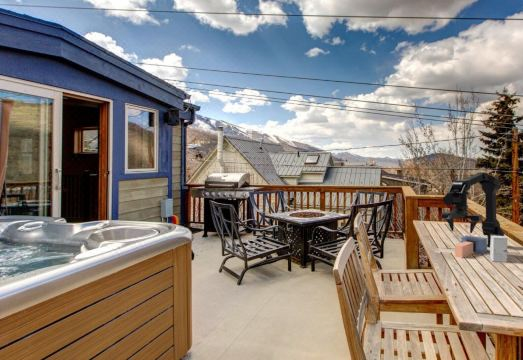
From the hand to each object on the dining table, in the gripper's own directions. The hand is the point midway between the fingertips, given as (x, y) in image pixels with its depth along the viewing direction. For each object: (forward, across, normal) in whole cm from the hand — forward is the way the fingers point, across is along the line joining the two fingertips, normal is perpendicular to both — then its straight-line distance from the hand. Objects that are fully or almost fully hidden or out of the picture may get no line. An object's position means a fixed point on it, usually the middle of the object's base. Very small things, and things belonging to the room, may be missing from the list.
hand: (461, 232), depth 175 cm
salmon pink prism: (+11, +3, -4) cm, 12 cm away
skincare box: (+12, +18, -3) cm, 21 cm away
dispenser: (+12, +3, +8) cm, 14 cm away
